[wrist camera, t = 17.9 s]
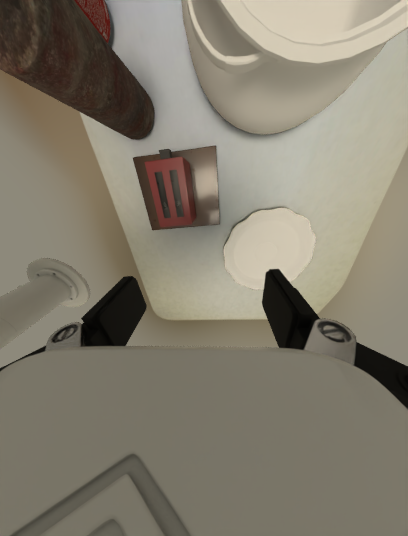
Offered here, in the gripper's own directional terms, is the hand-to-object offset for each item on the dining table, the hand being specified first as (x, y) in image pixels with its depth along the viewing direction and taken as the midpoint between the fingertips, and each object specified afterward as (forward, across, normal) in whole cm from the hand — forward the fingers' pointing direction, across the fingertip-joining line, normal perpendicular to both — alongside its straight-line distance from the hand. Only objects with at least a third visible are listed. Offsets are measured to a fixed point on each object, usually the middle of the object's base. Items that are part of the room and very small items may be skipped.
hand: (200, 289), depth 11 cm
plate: (+26, -13, +9) cm, 31 cm away
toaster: (+25, +6, -6) cm, 27 cm away
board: (+26, +6, -6) cm, 28 cm away
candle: (+26, +12, -19) cm, 35 cm away
